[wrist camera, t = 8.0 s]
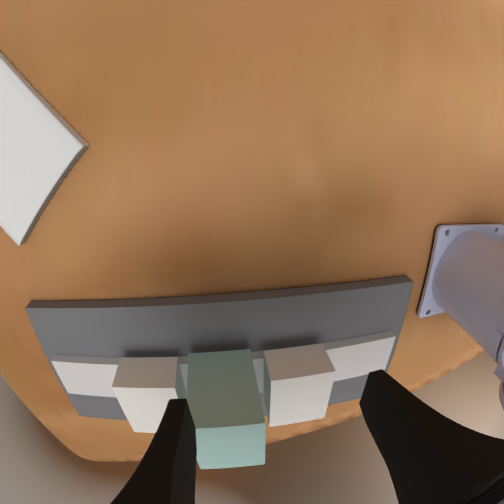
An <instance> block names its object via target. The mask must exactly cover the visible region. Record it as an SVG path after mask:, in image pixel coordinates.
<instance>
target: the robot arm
mask: <svg viewBox="0 0 504 504" xmlns="http://www.w3.org/2000/svg"><path fill="white" fill-rule="evenodd" d="M446 230H447V231H446ZM445 232H446V233H445ZM503 234H504V225H502V224H457V225H440V226H438V228H437V229H436V234H435V239H434V245H433V250H432V255H431V260H430V264H429V269H428V273H427V278H426V282H425V286H424V290H423V294H422V297H421V301H420V305H419V308H418V312H417V315H418V316H419V317H420V318H424V317H428V316H432V315H436V314H440V313H444V312H446V313H447V314H448V315H449V316H450V317H451V318H452V319H453V320H454V321H455V322H457V323H458V324H459V325H460V326H461V327H462V328H463V329H464V330H465V331H466V332H467V333H468V334H469V335H470V336H471V337H472V338H473V339H474V340H475V341H476V342H477V343H478V344H479V345H480V346H481V347H482V348H483V349H484V350H485V351H486V352H487V353H488V354H489V355H490V356H491V357H492V358H493V359H494V360H495V361H496V362H497V364H498V365H497V368H496V370H495V375H496V376H497V377H498V378H499V379H500V380H501V383H500V387H499V398H500V402H501V405H502V407H503V409H504V236H503ZM359 404H360V407H361V410H362V413H363V416H364V419H365V421H366V424H367V426H368V428H369V430H370V432H371V434H372V436H373V438H374V440H375V442H376V444H377V446H378V448H379V450H380V452H381V454H382V456H383V458H384V460H385V462H386V465H387V467H388V470H389V473H390V476H391V479H392V481H393V485H394V488H395V491H396V495H397V499H398V502H399V504H504V440H503V439H499V438H494V437H491V436H488V435H484V434H481V433H479V432H476V431H474V430H471V429H469V428H467V427H464V426H462V425H460V424H458V423H456V422H454V421H452V420H451V419H449V418H446V417H445V416H443V415H441V414H440V413H439V412H437V411H436V410H434V409H432V408H431V407H429V406H428V405H427V404H425V403H424V402H422V401H421V400H420V399H418V398H417V397H416V396H414V395H413V394H412V393H411V392H409V391H408V390H407V389H406V388H404V387H403V386H402V385H401V384H399V383H398V382H397V381H396V380H395V379H393V378H392V377H391V376H390V375H388V374H387V373H386V372H385V371H384V370H382V369H380V370H376V371H373V372H369V374H368V377H367V381H366V384H365V387H364V390H363V394H362V397H361V400H360V403H359ZM196 457H197V444H196V428H195V424H194V421H193V418H192V415H191V412H190V409H189V405H188V402H187V399H186V398H184V399H170V400H169V401H168V404H167V407H166V409H165V412H164V415H163V417H162V420H161V422H160V424H159V427H158V429H157V431H156V433H155V435H154V437H153V440H152V442H151V444H150V446H149V448H148V450H147V451H146V453H145V455H144V457H143V459H142V460H141V462H140V464H139V466H138V467H137V469H136V471H135V472H134V473H133V475H132V477H131V478H130V479H129V481H128V482H127V484H126V485H125V487H124V488H123V489H122V490H121V491H120V493H119V494H118V495H117V497H116V498H115V499H114V500H113V501H112V503H111V504H195V477H196Z"/></svg>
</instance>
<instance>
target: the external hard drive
mask: <svg viewBox="0 0 504 504" xmlns="http://www.w3.org/2000/svg"><path fill="white" fill-rule="evenodd" d="M88 147H89V144H88V143H87V142H86V141H85V140H84V139H83V138H82V137H81V136H80V135H79V134H78V133H77V132H76V131H75V130H74V129H73V128H72V127H71V126H70V125H69V124H68V123H67V122H66V121H65V120H64V119H63V118H62V117H61V116H60V115H59V114H58V113H57V112H56V111H55V110H54V109H53V108H52V107H51V106H50V105H49V103H48V102H47V101H46V100H45V99H44V98H43V97H42V96H41V95H40V94H39V93H38V92H37V91H36V90H35V89H34V88H33V87H32V86H31V85H30V83H29V82H28V81H27V80H26V79H25V78H24V77H23V76H22V75H21V74H20V73H19V72H18V71H17V69H16V68H15V67H14V66H13V65H12V64H11V63H10V62H9V61H8V60H7V58H6V57H5V56H4V55H3V54H2V53H1V52H0V226H1V227H2V228H3V229H4V230H5V231H6V232H7V234H8V235H9V236H10V237H11V238H12V239H13V240H14V241H15V242H16V243H17V245H19V246H21V245H22V244H24V243H25V242H26V241H27V239H28V237H29V235H30V233H31V231H32V230H33V228H34V226H35V224H36V223H37V221H38V219H39V218H40V216H41V214H42V213H43V211H44V209H45V208H46V206H47V204H48V203H49V201H50V200H51V198H52V197H53V195H54V194H55V192H56V191H57V189H58V188H59V186H60V185H61V183H62V182H63V180H64V179H65V177H66V176H67V175H68V173H69V172H70V170H71V169H72V168H73V166H74V165H75V164H76V162H77V161H78V160H79V158H80V157H81V156H82V154H83V153H84V152H85V151H86V149H87V148H88Z"/></svg>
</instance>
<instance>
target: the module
mask: <svg viewBox="0 0 504 504" xmlns="http://www.w3.org/2000/svg"><path fill="white" fill-rule="evenodd" d="M186 399H187V402H188V405H189V409H190V412H191V415H192V418H193V421H194V424H195V428H196V444H197V457H196V459H197V461H198V464H199V466H200V468H201V469H215V468H231V467H242V466H251V465H261V464H265V418H264V414H263V409H262V404H261V399H260V394H259V389H258V384H257V379H256V374H255V369H254V364H253V359H252V354H251V349H243V350H232V351H220V352H206V353H188V371H187V392H186Z"/></svg>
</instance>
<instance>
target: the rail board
mask: <svg viewBox="0 0 504 504" xmlns="http://www.w3.org/2000/svg"><path fill="white" fill-rule="evenodd" d="M412 285H413V281H412V280H411V279H410V278H409V277H408V276H398V277H391V278H383V279H374V280H366V281H357V282H349V283H340V284H330V285H321V286H311V287H300V288H290V289H279V290H267V291H255V292H242V293H229V294H214V295H199V296H182V297H163V298H142V299H116V300H78V301H31V302H30V303H29V304H28V305H27V307H26V311H27V314H28V316H29V319H30V321H31V323H32V326H33V328H34V331H35V333H36V335H37V337H38V340H39V342H40V344H41V346H42V348H43V351H44V353H45V355H46V357H47V359H48V361H49V363H50V365H51V367H52V369H53V371H54V373H55V374H56V376H57V378H58V380H59V382H60V384H61V385H62V387H63V389H64V391H65V393H66V394H67V396H68V398H69V399H70V401H71V403H72V404H73V406H74V408H75V409H76V411H77V412H78V414H79V416H86V417H95V418H105V419H118V420H128V421H129V423H130V425H131V427H132V429H133V431H134V432H147V433H156V431H157V429H158V427H159V424H160V422H161V420H162V417H163V415H164V412H165V409H166V407H167V404H168V401H169V400H170V399H184V398H186V392H187V371H188V353H206V352H220V351H232V350H243V349H251V354H252V359H253V364H254V369H255V374H256V379H257V384H258V389H259V394H260V399H261V404H262V409H263V414H264V416H266V415H267V418H268V423H269V427H272V426H279V425H286V424H292V423H298V422H304V421H309V420H315V419H320V418H324V417H325V413H326V409H327V406H328V405H332V404H336V403H341V402H345V401H350V400H354V399H358V398H361V397H362V394H363V390H364V387H365V384H366V381H367V377H368V374H369V372H373V371H376V370H380V369H382V370H384V371H385V372H386V373H387V370H388V367H389V365H390V362H391V359H392V356H393V353H394V350H395V347H396V344H397V340H398V337H399V334H400V331H401V327H402V324H403V320H404V317H405V313H406V309H407V305H408V302H409V298H410V294H411V289H412Z"/></svg>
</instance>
